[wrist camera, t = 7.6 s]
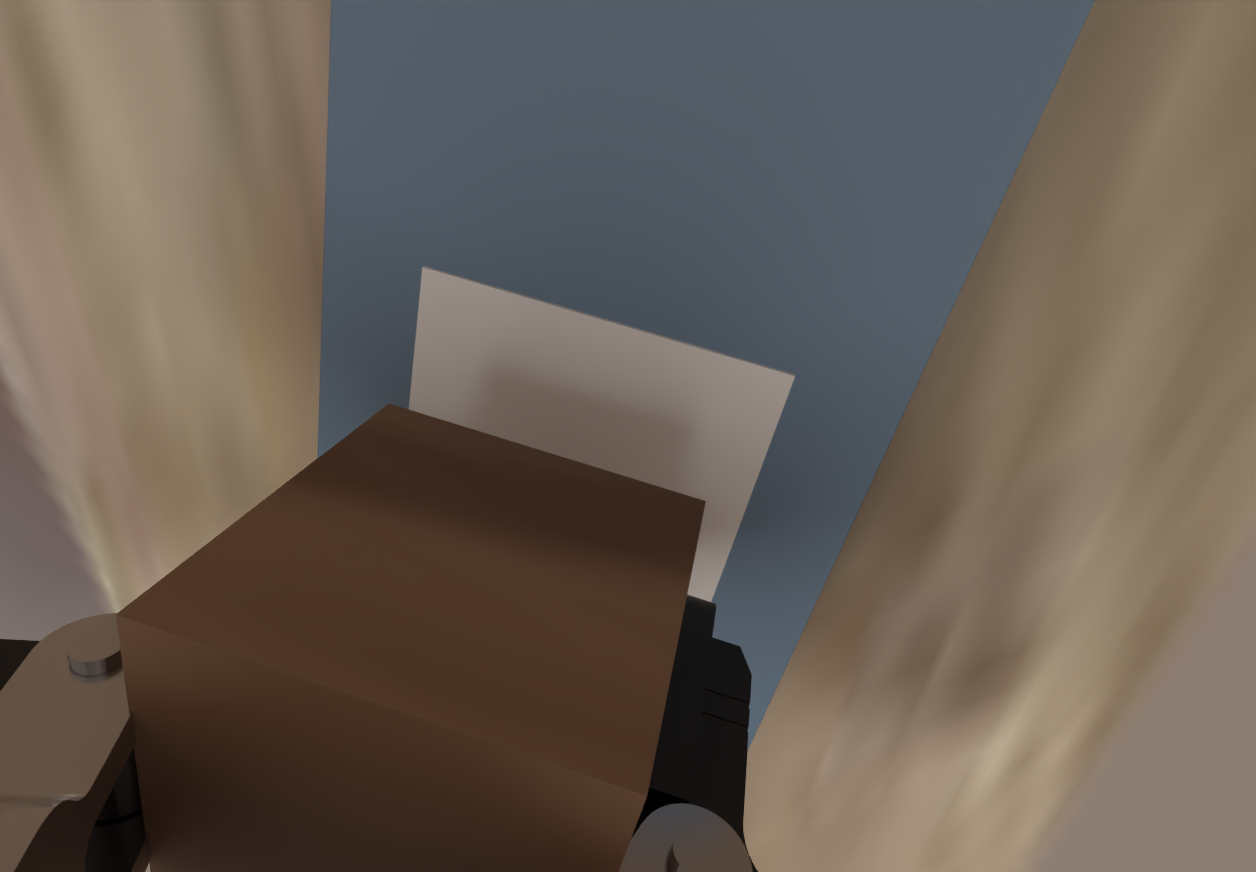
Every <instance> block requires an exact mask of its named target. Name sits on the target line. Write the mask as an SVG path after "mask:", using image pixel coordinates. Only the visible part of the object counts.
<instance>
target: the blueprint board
mask: <svg viewBox="0 0 1256 872" xmlns="http://www.w3.org/2000/svg"><path fill="white" fill-rule="evenodd" d="M1094 1H1095V0H331V29H330V62H329V96H328V129H327V162H326V195H325V229H324V262H323V295H322V329H321V362H320V395H319V428H318V458H319V457H320V456H321V455H323V454H324V453H325V452H327V451H328V450H329V449H330V448H332V447H333V446H334V445H336V444H337V443H338V442H340V441H341V440H342V439H343V438H345V437H346V436H347V435H349V434H350V433H351V432H352V431H354V430H355V429H356V428H358V427H359V426H360V425H362V424H363V423H364V422H365V421H367V420H368V419H369V418H371V417H372V416H373V415H374V414H376V413H377V412H378V411H380V410H381V409H382V408H383V407H385V406H386V405H387V404H393V405H396V406H399V407H402V408H406V409H409V410H412V411H415V412H419V413H422V414H425V415H428V416H432V417H435V418H438V419H441V420H444V421H448V422H451V423H454V424H457V425H461V426H464V427H467V428H470V429H474V430H477V431H480V432H483V433H487V434H490V435H493V436H496V437H500V438H503V439H506V440H509V441H513V442H516V443H519V444H522V445H526V446H529V447H532V448H535V449H539V450H542V451H545V452H548V453H551V454H555V455H558V456H561V457H564V458H568V459H571V460H574V461H577V462H581V463H584V464H587V465H590V466H594V467H597V468H600V469H603V470H607V471H610V472H613V473H616V474H620V475H623V476H626V477H629V478H633V479H636V480H639V481H642V482H646V483H649V484H652V485H655V486H658V487H662V488H665V489H668V490H671V491H675V492H678V493H681V494H684V495H688V496H691V497H694V498H697V499H701V500H704V501H706V503H705V508H704V513H703V518H702V523H701V528H700V533H699V538H698V543H697V548H696V553H695V558H694V563H693V568H692V573H691V578H690V583H689V588H688V593H687V595H690V596H693V597H697V598H700V599H703V600H706V601H709V602H712V603H715V604H716V614H715V621H714V628H713V635H712V637H713V638H716V639H719V640H722V641H725V642H728V643H732V644H735V645H738V646H740V647H741V649H742V652H743V654H744V657H745V659H746V662H747V664H748V667H749V669H750V671H751V674H752V681H751V698H750V705H749V709H750V714H749V727H748V731H747V732H748V748H749V746H750V744H751V742H752V740H753V738H754V735H755V733H756V731H757V729H758V727H759V725H760V722H761V720H762V718H763V716H764V714H765V712H766V710H767V707H768V705H769V703H770V701H771V699H772V697H773V694H774V692H775V690H776V688H777V686H778V684H779V681H780V679H781V677H782V675H783V673H784V671H785V668H786V666H787V664H788V662H789V660H790V658H791V656H792V653H793V651H794V649H795V647H796V645H797V643H798V640H799V638H800V636H801V634H802V632H803V630H804V627H805V625H806V623H807V621H808V619H809V617H810V614H811V612H812V610H813V608H814V606H815V604H816V601H817V599H818V597H819V595H820V593H821V591H822V589H823V586H824V584H825V582H826V580H827V578H828V576H829V573H830V571H831V569H832V567H833V565H834V563H835V560H836V558H837V556H838V554H839V552H840V550H841V547H842V545H843V543H844V541H845V539H846V537H847V535H848V532H849V530H850V528H851V526H852V524H853V522H854V519H855V517H856V515H857V513H858V511H859V509H860V506H861V504H862V502H863V500H864V498H865V496H866V493H867V491H868V489H869V487H870V485H871V483H872V480H873V478H874V476H875V474H876V472H877V470H878V468H879V465H880V463H881V461H882V459H883V457H884V455H885V452H886V450H887V448H888V446H889V444H890V442H891V439H892V437H893V435H894V433H895V431H896V429H897V426H898V424H899V422H900V420H901V418H902V416H903V414H904V411H905V409H906V407H907V405H908V403H909V401H910V398H911V396H912V394H913V392H914V390H915V388H916V385H917V383H918V381H919V379H920V377H921V375H922V372H923V370H924V368H925V366H926V364H927V362H928V359H929V357H930V355H931V353H932V351H933V349H934V347H935V344H936V342H937V340H938V338H939V336H940V334H941V331H942V329H943V327H944V325H945V323H946V321H947V318H948V316H949V314H950V312H951V310H952V308H953V305H954V303H955V301H956V299H957V297H958V295H959V293H960V290H961V288H962V286H963V284H964V282H965V280H966V277H967V275H968V273H969V271H970V269H971V267H972V264H973V262H974V260H975V258H976V256H977V254H978V251H979V249H980V247H981V245H982V243H983V241H984V238H985V236H986V234H987V232H988V230H989V228H990V226H991V223H992V221H993V219H994V217H995V215H996V213H997V210H998V208H999V206H1000V204H1001V202H1002V200H1003V197H1004V195H1005V193H1006V191H1007V189H1008V187H1009V184H1010V182H1011V180H1012V178H1013V176H1014V174H1015V171H1016V169H1017V167H1018V165H1019V163H1020V161H1021V159H1022V156H1023V154H1024V152H1025V150H1026V148H1027V146H1028V143H1029V141H1030V139H1031V137H1032V135H1033V133H1034V130H1035V128H1036V126H1037V124H1038V122H1039V120H1040V117H1041V115H1042V113H1043V111H1044V109H1045V107H1046V105H1047V102H1048V100H1049V98H1050V96H1051V94H1052V92H1053V89H1054V87H1055V85H1056V83H1057V81H1058V79H1059V76H1060V74H1061V72H1062V70H1063V68H1064V66H1065V63H1066V61H1067V59H1068V57H1069V55H1070V53H1071V50H1072V48H1073V46H1074V44H1075V42H1076V40H1077V38H1078V35H1079V33H1080V31H1081V29H1082V27H1083V25H1084V22H1085V20H1086V18H1087V16H1088V14H1089V12H1090V9H1091V7H1092V5H1093V3H1094ZM748 748H747V751H748Z"/></svg>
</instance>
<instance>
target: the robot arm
mask: <svg viewBox="0 0 1256 872" xmlns="http://www.w3.org/2000/svg"><path fill="white" fill-rule="evenodd" d="M116 614H117V613H110V614H101V615H96V616H91V617H87V618H83V619H80V620H77V621H75V622H72V623H69V624H67V625H65V626H63V627H61V628H59V629H57V630H55V631H54V632H52V633H50V634H49V635H47V636H46V637H45V638H44V639H42V640H41V641H27V640H8V639H0V872H145V871H146V868H147V866H148V863H149V861H150V859H151V857H152V855H151V848H150V840H149V833H148V832H147V831H145V826H144V819H143V812H142V804H141V797H140V790H139V782H138V775H137V767H136V760H135V753H134V746H135V744H136V742H137V741H136V734H135V726H134V719H133V711H130V710H129V708H128V701H127V694H126V686H125V679H124V671H123V664H122V657H121V649H120V642H119V635H118V627H117V620H116ZM715 614H716V604H715V603H712V602H709V601H706V600H703V599H700V598H697V597H693V596H690V595H687V598H686V603H685V608H684V613H683V618H682V624H681V629H680V634H679V639H678V644H677V649H676V654H675V659H674V664H673V669H672V674H671V679H670V684H669V689H668V694H667V699H666V704H665V709H664V714H663V719H662V724H661V729H660V734H659V739H658V744H657V749H656V754H655V759H654V764H653V769H652V774H651V779H650V784H649V789H648V795H647V798H646V801H645V803H644V806H643V809H642V811H641V814H640V816H639V819H638V822H637V824H636V827H635V830H634V832H633V835H632V838H631V840H630V843H629V845H628V848H627V851H626V853H625V856H624V859H623V861H622V864H621V867H620V869H619V872H758V871H757V870H756V868H755V866H754V864H753V862H752V860H751V858H750V856H749V853H748V850H747V847H746V844H745V839H744V834H743V815H744V798H745V781H746V765H747V748H748V732H747V731H748V727H749V714H750V709H749V705H750V698H751V681H752V674H751V671H750V669H749V667H748V664H747V662H746V659H745V657H744V654H743V652H742V649H741V647H740V646H738V645H735V644H732V643H728V642H725V641H722V640H719V639H716V638H713V637H712V635H713V628H714V621H715Z"/></svg>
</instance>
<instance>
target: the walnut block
mask: <svg viewBox="0 0 1256 872" xmlns="http://www.w3.org/2000/svg"><path fill="white" fill-rule="evenodd" d="M705 503H706V501H704V500H701V499H697V498H694V497H691V496H688V495H684V494H681V493H678V492H675V491H671V490H668V489H665V488H662V487H658V486H655V485H652V484H649V483H646V482H642V481H639V480H636V479H633V478H629V477H626V476H623V475H620V474H616V473H613V472H610V471H607V470H603V469H600V468H597V467H594V466H590V465H587V464H584V463H581V462H577V461H574V460H571V459H568V458H564V457H561V456H558V455H555V454H551V453H548V452H545V451H542V450H539V449H535V448H532V447H529V446H526V445H522V444H519V443H516V442H513V441H509V440H506V439H503V438H500V437H496V436H493V435H490V434H487V433H483V432H480V431H477V430H474V429H470V428H467V427H464V426H461V425H457V424H454V423H451V422H448V421H444V420H441V419H438V418H435V417H432V416H428V415H425V414H422V413H419V412H415V411H412V410H409V409H406V408H402V407H399V406H396V405H393V404H387V405H386V406H385V407H383V408H382V409H381V410H380V411H378V412H377V413H376V414H374V415H373V416H372V417H371V418H369V419H368V420H367V421H365V422H364V423H363V424H362V425H360V426H359V427H358V428H356V429H355V430H354V431H352V432H351V433H350V434H349V435H347V436H346V437H345V438H343V439H342V440H341V441H340V442H338V443H337V444H336V445H334V446H333V447H332V448H330V449H329V450H328V451H327V452H325V453H324V454H323V455H321V456H320V457H319V458H318V459H316V460H315V461H314V462H312V463H311V464H310V465H309V466H307V467H306V468H305V469H303V470H302V471H301V472H299V473H298V474H297V475H296V476H294V477H293V478H292V479H290V480H289V481H288V482H287V483H285V484H284V485H283V486H281V487H280V488H279V489H277V490H276V491H275V492H274V493H272V494H271V495H270V496H268V497H267V498H266V499H265V500H263V501H262V502H261V503H259V504H258V505H257V506H256V507H254V508H253V509H252V510H250V511H249V512H248V513H246V514H245V515H244V516H243V517H241V518H240V519H239V520H237V521H236V522H235V523H234V524H232V525H231V526H230V527H228V528H227V529H226V530H224V531H223V532H222V533H221V534H219V535H218V536H217V537H215V538H214V539H213V540H212V541H210V542H209V543H208V544H206V545H205V546H204V547H202V548H201V549H200V550H199V551H197V552H196V553H195V554H193V555H192V556H191V557H190V558H188V559H187V560H186V561H184V562H183V563H182V564H181V565H179V566H178V567H177V568H175V569H174V570H173V571H171V572H170V573H169V574H168V575H166V576H165V577H164V578H162V579H161V580H160V581H159V582H157V583H156V584H155V585H153V586H152V587H151V588H149V589H148V590H147V591H146V592H144V593H143V594H142V595H140V596H139V597H138V598H137V599H135V600H134V601H133V602H131V603H130V604H129V605H128V606H126V607H125V608H124V609H122V610H121V611H120V612H118V613H117V614H116V620H117V627H118V635H119V642H120V649H121V657H122V664H123V671H124V679H125V686H126V694H127V701H128V708H129V710H130V711H133V719H134V726H135V734H136V741H137V742H136V744H135V746H134V753H135V760H136V767H137V775H138V782H139V790H140V797H141V804H142V812H143V819H144V826H145V831H147V832H148V833H149V840H150V848H151V855H152V857H151V859H150V861H149V863H150V870H151V872H619V869H620V867H621V864H622V861H623V859H624V856H625V853H626V851H627V848H628V845H629V843H630V840H631V838H632V835H633V832H634V830H635V827H636V824H637V822H638V819H639V816H640V814H641V811H642V809H643V806H644V803H645V801H646V798H647V795H648V789H649V784H650V779H651V774H652V769H653V764H654V759H655V754H656V749H657V744H658V739H659V734H660V729H661V724H662V719H663V714H664V709H665V704H666V699H667V694H668V689H669V684H670V679H671V674H672V669H673V664H674V659H675V654H676V649H677V644H678V639H679V634H680V629H681V624H682V618H683V613H684V608H685V603H686V598H687V593H688V588H689V583H690V578H691V573H692V568H693V563H694V558H695V553H696V548H697V543H698V538H699V533H700V528H701V523H702V518H703V513H704V508H705Z"/></svg>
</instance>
